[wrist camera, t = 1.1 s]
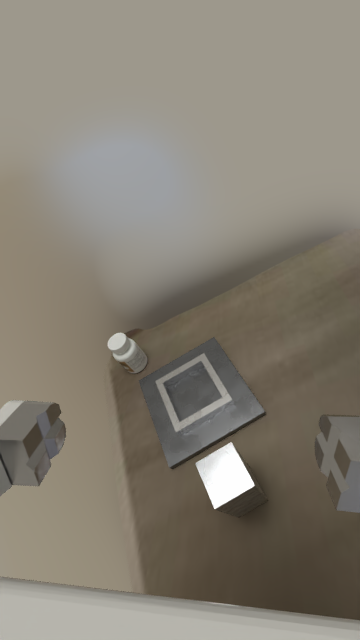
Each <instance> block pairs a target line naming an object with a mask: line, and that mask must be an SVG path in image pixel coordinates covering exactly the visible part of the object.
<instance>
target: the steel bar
mask: <svg viewBox="0 0 360 640" xmlns="http://www.w3.org/2000/svg"><path fill="white" fill-rule="evenodd" d="M195 464H196V466H197V468H198V471H199V473H200V475H201V478H202V480H203V483H204V485H205V487H206V490H207V492H208V494H209V497H210V499H211V502H212V504H213V506H214V509H216V510H218V511H221V512H224V513H227V514H230V515H233V516H236V517H238V518H239V517H241V516H242V515H244V514H246V513H247V512H249V511H251V510H253V509H254V508H256V507H258V506H259V505H261V504H263V503H264V502H266V501H268V500H267V498H266V496H265V494H264V492H263V490H262V489H261V487H260V485H259V483H258V481H257V480H256V478H255V476H254V474H253V472H252V470H251V469H250V467H249V465H248V464H247V463H246V461H245V460H244V459H243V457H242V456H241V454H240V453H239V452H238V450H237V449H236V448H235V446H234V445H233V444H232V442H231V443H229V444H227V445H226V446H224V447H222V448H221V449H219V450H217V451H216V452H214V453H212V454H210V455H209V456H207V457H205V458H204V459H202V460H200V461H199V462H197V463H195Z"/></svg>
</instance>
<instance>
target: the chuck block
mask: <svg viewBox="0 0 360 640" xmlns="http://www.w3.org/2000/svg"><path fill="white" fill-rule="evenodd" d="M139 383H140V386H141V389H142V391H143V394H144V397H145V400H146V403H147V406H148V408H149V411H150V414H151V417H152V420H153V423H154V425H155V428H156V431H157V434H158V437H159V440H160V442H161V445H162V448H163V451H164V454H165V457H166V459H167V462H168V465H169V468H171V469H174V468H176V467H177V466H179V465H181V464H182V463H184V462H186V461H187V460H189V459H191V458H193V457H194V456H196V455H198V454H199V453H201V452H203V451H204V450H206V449H208V448H210V447H211V446H213V445H215V444H216V443H218V442H220V441H222V440H223V439H225V438H227V437H228V436H230V435H232V434H233V433H235V432H237V431H239V430H240V429H242V428H244V427H245V426H247V425H249V424H251V423H252V422H254V421H256V420H257V419H259V418H261V417H262V416H264V415H266V414H265V411H264V410H263V408H262V407H261V405H260V404H259V402H258V401H257V399H256V398H255V396H254V395H253V393H252V392H251V390H250V389H249V388H248V386H247V385H246V383H245V382H244V380H243V379H242V377H241V376H240V374H239V373H238V371H237V370H236V368H235V367H234V366H233V364H232V363H231V361H230V360H229V358H228V357H227V355H226V354H225V352H224V351H223V349H222V348H221V346H220V345H219V344H218V342H217V341H216V339H215V338H214V337H213V338H212V339H210V340H208V341H206V342H205V343H203V344H201V345H200V346H198V347H196V348H194V349H193V350H191V351H189V352H188V353H186V354H184V355H182V356H181V357H179V358H177V359H175V360H174V361H172V362H170V363H169V364H167V365H165V366H163V367H162V368H160V369H158V370H156V371H155V372H153V373H151V374H150V375H148V376H146V377H144V378H143V379H141V380H139Z"/></svg>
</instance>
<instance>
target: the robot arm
mask: <svg viewBox="0 0 360 640" xmlns="http://www.w3.org/2000/svg"><path fill="white" fill-rule="evenodd" d="M60 414H61V410H60V407H59V404H56V403H51V402H50V403H49V402H37V401H18V400H12V401H10V402H7V403H6V404H5V405H4V406H3V407H2V408H1V409H0V496H1V495H2V494H3V493H5V492H6V491H7V490H8V489H10V488H11V487H12V485H23V486H24V485H25V486H39V485H40V483H41V482H42V480H43V479H44V477H45V475H46V474H47V472H48V470H49V469H50V467H51V462H50V459H52V458H53V457H54V456H56V455H57V454H58V453H59V451H60V450H61V448H62V447H63V444H64V441H65V437H66V428H65V424H64V422H63V421H61V420H60V419H59V418H58V417H59V415H60ZM319 426H320V429H321V431H322V432H321V433H320V434H319V435H317V436H316V441H315V455H316V459H317V463H318V466H319V468H320V471H321V472H322V473H323V474H325V475H326V476H327V477H328V481H327V485H326V486H327V489H328V491H329V494H330V496H331V499H332V501H333V503H334V506H335V508H336V510H339V511H349V512H358V513H360V416H350V415H322V416H321V418H320V422H319ZM0 640H360V620H353V619H345V618H337V617H329V616H321V615H312V614H304V613H296V612H288V611H280V610H271V609H263V608H255V607H247V606H239V605H230V604H222V603H214V602H206V601H197V600H189V599H181V598H173V597H165V596H156V595H148V594H140V593H132V592H124V591H114V590H107V589H99V588H90V587H82V586H74V585H66V584H57V583H49V582H41V581H32V580H25V579H16V578H8V577H0Z"/></svg>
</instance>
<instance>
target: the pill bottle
mask: <svg viewBox="0 0 360 640" xmlns="http://www.w3.org/2000/svg"><path fill="white" fill-rule="evenodd" d="M108 348H109V349H110V350H111V351H112V352H113V356H114V358H115V359H116V360H117V361H118V362H119V363H120V364H121V365H122V366H123V367H124V368H125V369H126V370H127V371H128V372H130V373H138V372H140V371H142V370H143V369H144V368H145V366H146V364H147V356H146V355H145V353H144V352H143V351H142V350H141V349H140V348H139V346H138V345H137V344H136V343H135V342H134V341H133V340H132V339H128V337H127V336H126V335H125V334H123V333H117V334H115V335H113V336H112V337H111V338H110V340H109V341H108Z"/></svg>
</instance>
